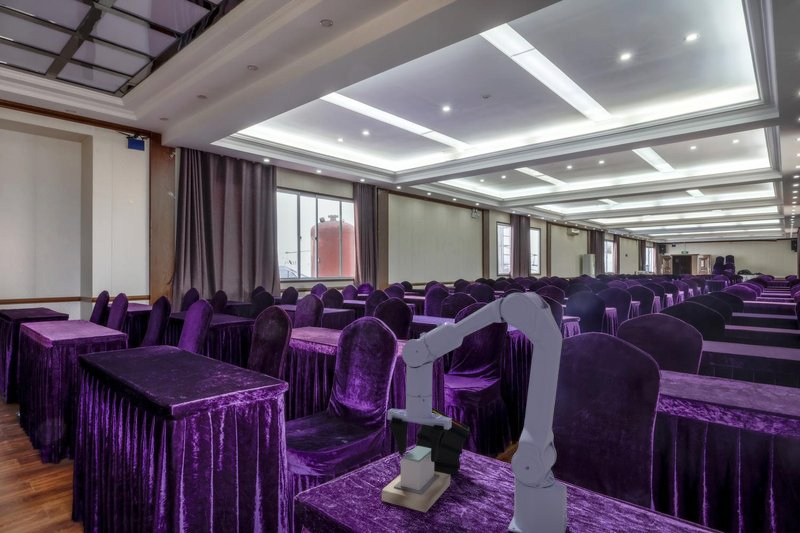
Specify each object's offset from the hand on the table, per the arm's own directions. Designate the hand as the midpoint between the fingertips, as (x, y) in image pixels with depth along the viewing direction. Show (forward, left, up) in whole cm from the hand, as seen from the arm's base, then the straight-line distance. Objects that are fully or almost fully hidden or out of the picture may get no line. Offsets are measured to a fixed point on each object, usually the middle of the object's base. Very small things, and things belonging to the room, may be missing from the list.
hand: (418, 456), depth 98 cm
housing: (0, 0, -5) cm, 5 cm away
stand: (0, 0, -8) cm, 8 cm away
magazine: (0, -13, -8) cm, 15 cm away
